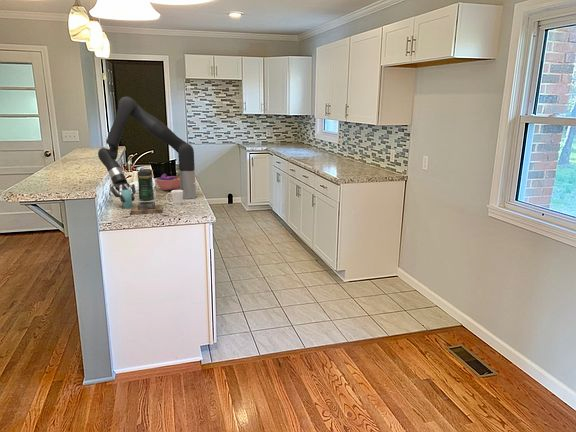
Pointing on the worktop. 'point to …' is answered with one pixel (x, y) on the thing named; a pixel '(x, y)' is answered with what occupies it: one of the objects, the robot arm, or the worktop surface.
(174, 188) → the cell model
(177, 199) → the cup
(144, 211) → the walnut base
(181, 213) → the worktop surface
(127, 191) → the teal peg
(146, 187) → the coffee jar
